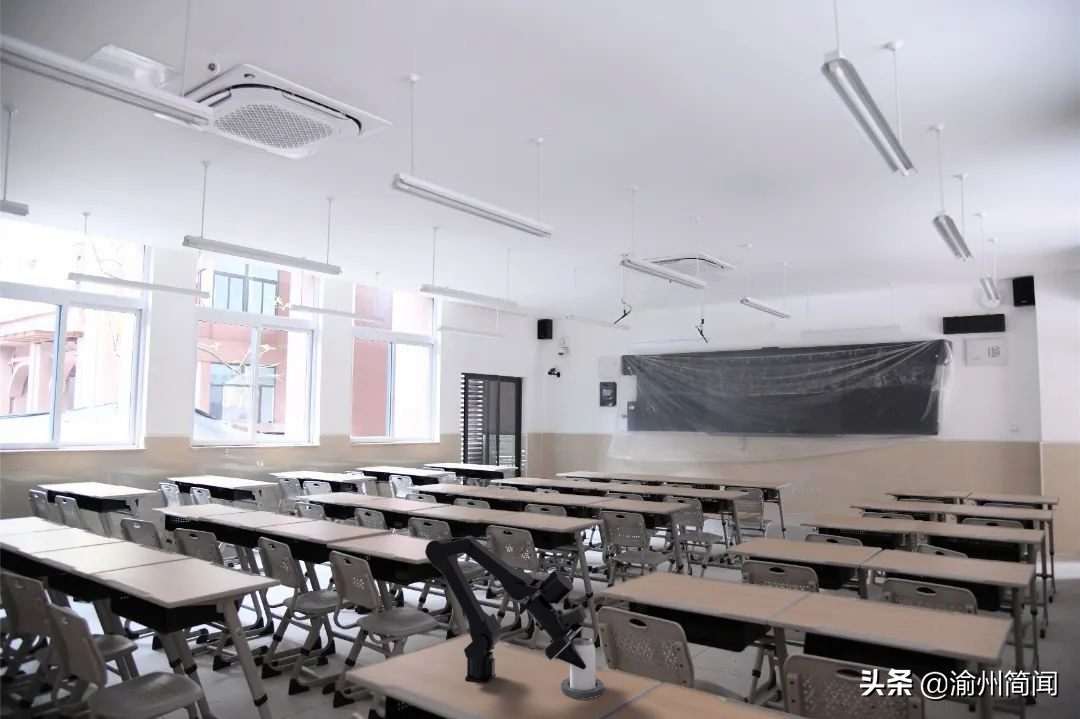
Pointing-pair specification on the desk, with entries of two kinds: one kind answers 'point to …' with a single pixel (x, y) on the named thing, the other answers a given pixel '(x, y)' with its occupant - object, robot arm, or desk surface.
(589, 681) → the can
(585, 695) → the collar
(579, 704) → the desk surface
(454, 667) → the desk surface
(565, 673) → the desk surface
